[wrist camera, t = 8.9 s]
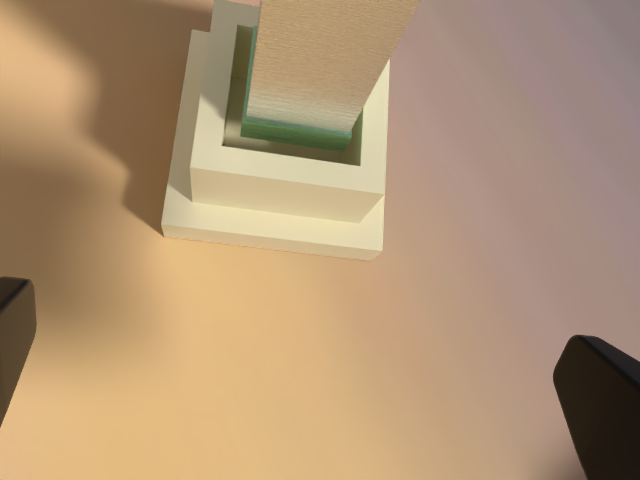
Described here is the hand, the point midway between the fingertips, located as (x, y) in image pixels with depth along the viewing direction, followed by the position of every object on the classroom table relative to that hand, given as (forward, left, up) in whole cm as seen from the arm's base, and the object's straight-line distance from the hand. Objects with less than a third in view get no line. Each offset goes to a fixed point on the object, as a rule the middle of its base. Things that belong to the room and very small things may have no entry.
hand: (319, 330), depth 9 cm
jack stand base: (+5, +6, -10) cm, 13 cm away
